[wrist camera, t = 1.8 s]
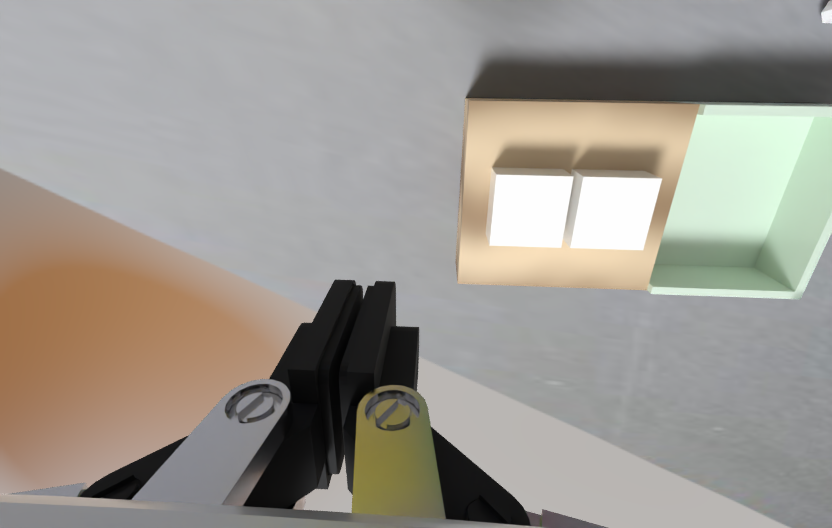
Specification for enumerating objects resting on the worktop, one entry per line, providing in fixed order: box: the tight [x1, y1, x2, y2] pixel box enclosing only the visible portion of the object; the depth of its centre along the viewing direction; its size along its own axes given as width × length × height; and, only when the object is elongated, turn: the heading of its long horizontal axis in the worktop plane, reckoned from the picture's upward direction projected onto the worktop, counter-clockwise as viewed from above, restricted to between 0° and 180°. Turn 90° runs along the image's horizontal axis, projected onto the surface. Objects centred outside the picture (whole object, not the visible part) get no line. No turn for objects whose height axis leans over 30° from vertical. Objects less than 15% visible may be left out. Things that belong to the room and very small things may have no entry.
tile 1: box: [486, 167, 574, 248], centre depth 23 cm, size 4×4×2 cm
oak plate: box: [456, 98, 700, 290], centre depth 25 cm, size 11×12×4 cm
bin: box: [647, 101, 832, 299], centre depth 24 cm, size 11×9×4 cm
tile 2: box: [563, 169, 662, 250], centre depth 22 cm, size 4×4×2 cm
